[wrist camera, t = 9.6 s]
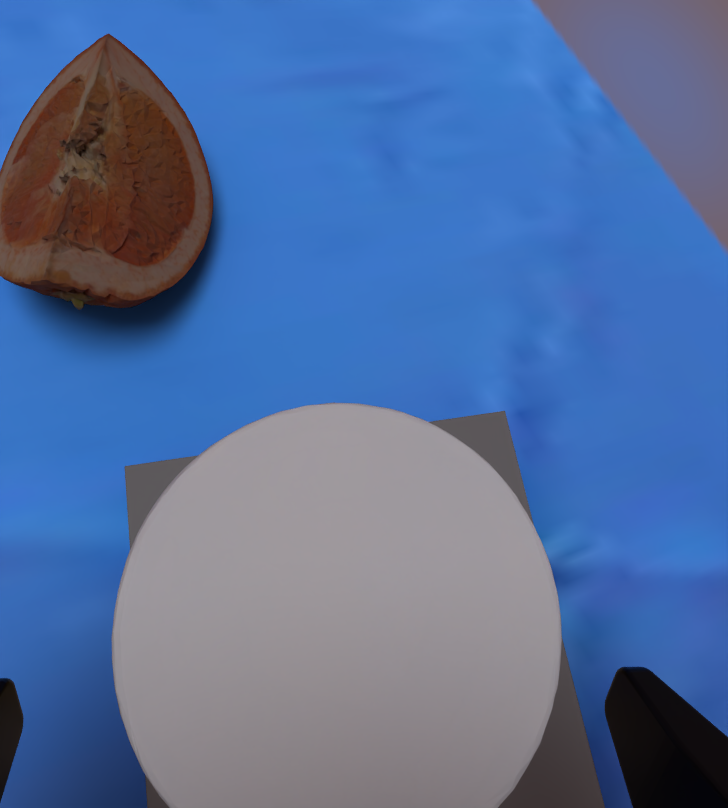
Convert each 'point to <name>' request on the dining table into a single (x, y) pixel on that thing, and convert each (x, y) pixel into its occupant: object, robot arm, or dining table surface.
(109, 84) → the fruit slice
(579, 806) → the panel board
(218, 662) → the pill bottle
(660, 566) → the dining table surface
